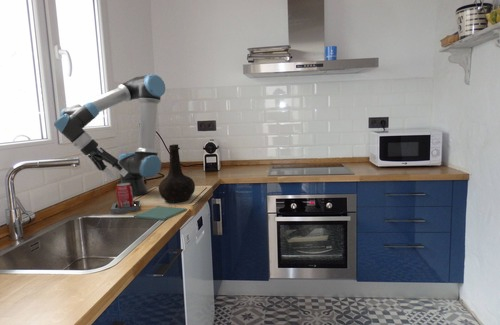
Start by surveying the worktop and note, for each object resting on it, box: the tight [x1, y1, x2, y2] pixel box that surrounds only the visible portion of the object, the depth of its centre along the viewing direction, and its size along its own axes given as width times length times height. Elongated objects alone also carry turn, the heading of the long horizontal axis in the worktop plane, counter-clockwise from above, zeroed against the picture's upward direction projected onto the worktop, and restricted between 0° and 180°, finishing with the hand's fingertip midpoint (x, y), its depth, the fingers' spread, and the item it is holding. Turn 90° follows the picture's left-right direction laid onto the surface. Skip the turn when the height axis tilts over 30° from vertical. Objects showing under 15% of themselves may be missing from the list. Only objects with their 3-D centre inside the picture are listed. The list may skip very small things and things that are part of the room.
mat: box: [133, 205, 188, 221], centre depth 158 cm, size 16×16×1 cm
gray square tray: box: [110, 200, 141, 215], centre depth 170 cm, size 12×12×2 cm
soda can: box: [115, 182, 134, 208], centre depth 169 cm, size 7×7×12 cm
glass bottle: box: [158, 143, 196, 203], centre depth 180 cm, size 18×18×28 cm
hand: (120, 176), depth 173 cm, fingers open, 13 cm apart
